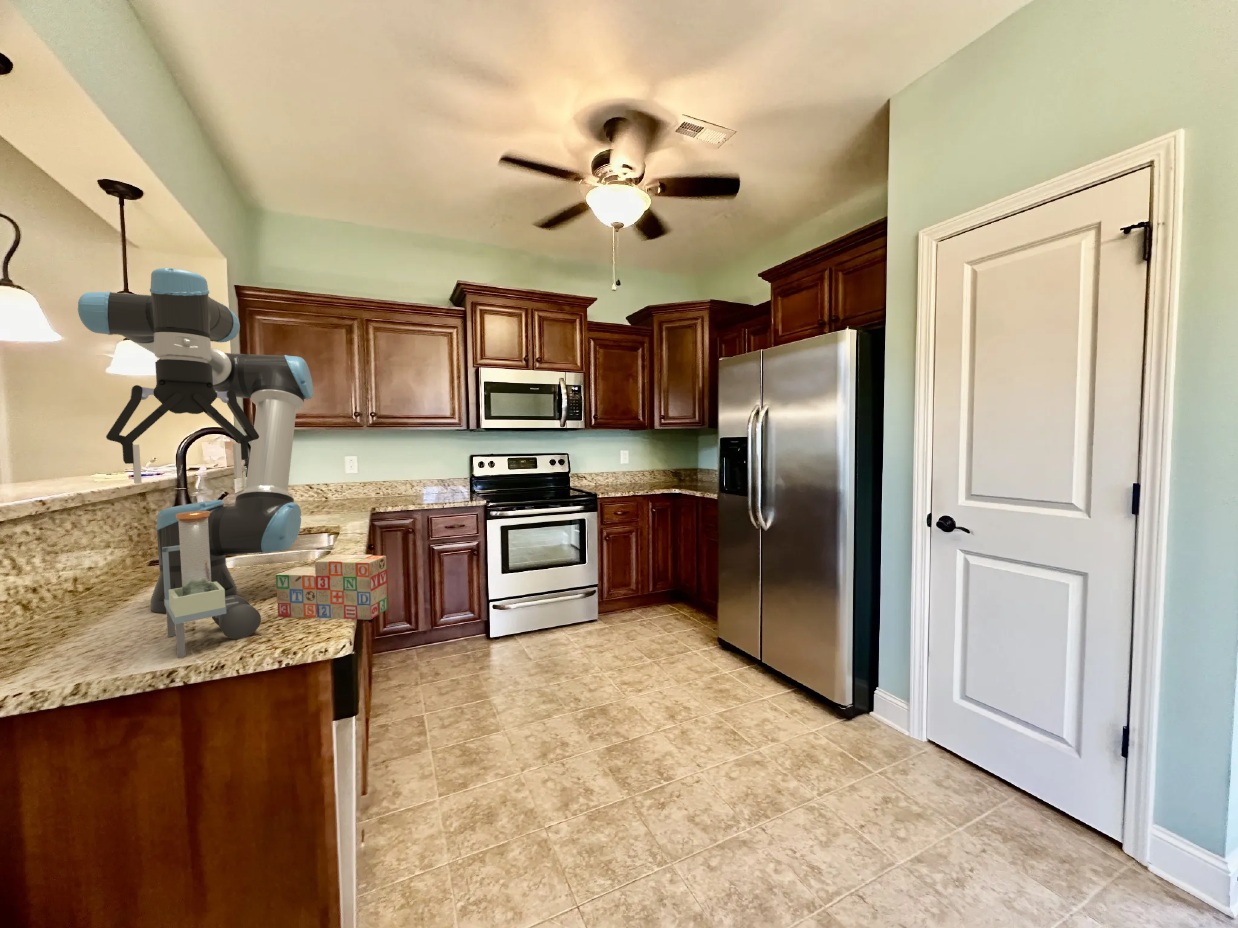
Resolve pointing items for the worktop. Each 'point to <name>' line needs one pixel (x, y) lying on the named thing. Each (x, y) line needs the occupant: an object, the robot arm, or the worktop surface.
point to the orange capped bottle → (194, 552)
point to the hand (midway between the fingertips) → (191, 480)
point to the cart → (210, 613)
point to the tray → (196, 601)
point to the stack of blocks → (335, 588)
